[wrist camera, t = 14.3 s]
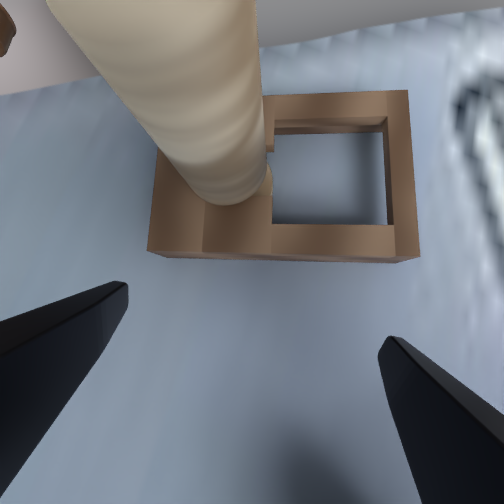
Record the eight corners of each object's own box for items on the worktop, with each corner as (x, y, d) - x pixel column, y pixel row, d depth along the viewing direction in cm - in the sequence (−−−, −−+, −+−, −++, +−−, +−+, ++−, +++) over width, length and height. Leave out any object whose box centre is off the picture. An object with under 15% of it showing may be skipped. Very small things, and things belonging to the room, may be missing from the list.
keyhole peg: (251, 239, 18) (186, 91, 5) (186, 207, 19) (-15, 12, 6) (285, 173, 19) (306, -113, 6) (220, 146, 20) (108, -157, 6)
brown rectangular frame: (386, 122, 19) (407, 89, 16) (395, 263, 17) (420, 256, 14) (179, 128, 20) (163, 99, 17) (167, 257, 18) (146, 250, 16)
